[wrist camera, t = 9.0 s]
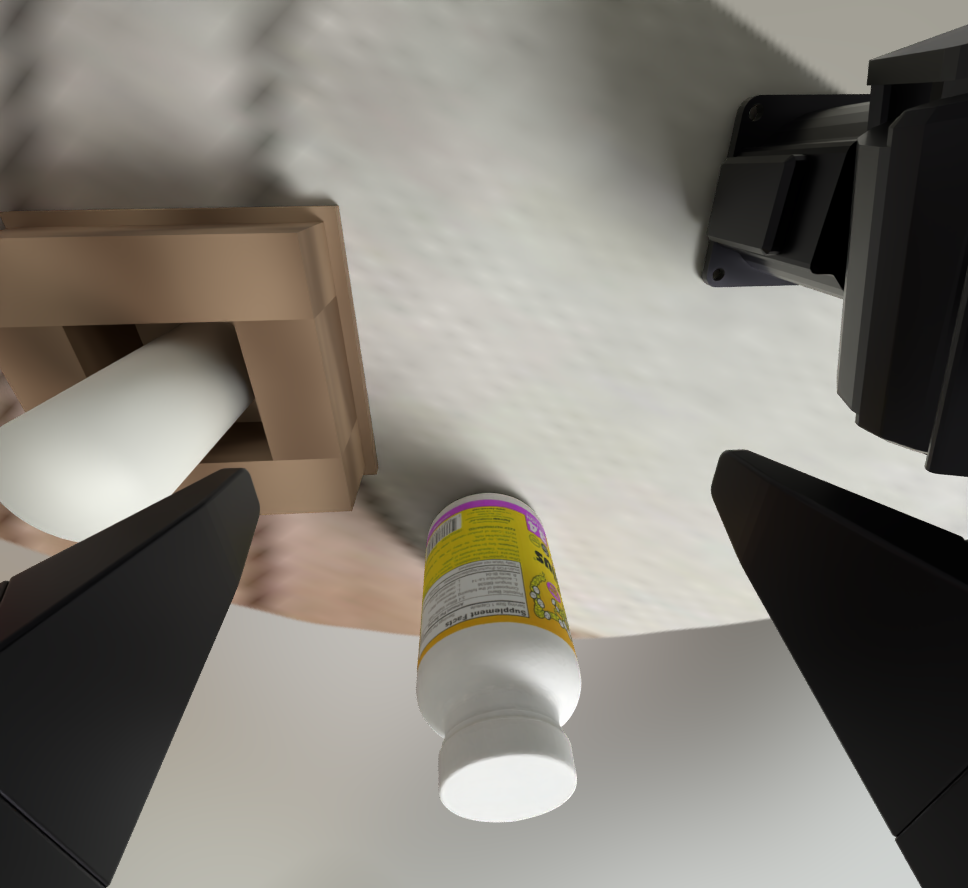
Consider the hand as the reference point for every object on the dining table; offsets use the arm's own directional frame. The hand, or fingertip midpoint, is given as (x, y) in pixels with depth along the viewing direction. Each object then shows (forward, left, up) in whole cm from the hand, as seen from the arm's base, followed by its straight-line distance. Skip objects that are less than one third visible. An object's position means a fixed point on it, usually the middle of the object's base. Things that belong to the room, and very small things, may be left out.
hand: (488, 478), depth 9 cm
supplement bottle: (-1, +13, -13) cm, 18 cm away
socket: (+11, +2, -13) cm, 17 cm away
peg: (+11, +2, -12) cm, 17 cm away
